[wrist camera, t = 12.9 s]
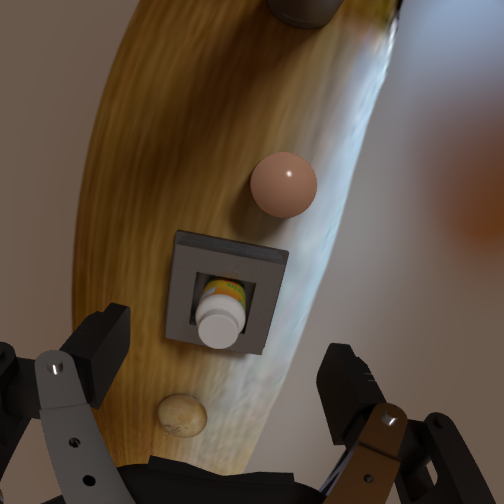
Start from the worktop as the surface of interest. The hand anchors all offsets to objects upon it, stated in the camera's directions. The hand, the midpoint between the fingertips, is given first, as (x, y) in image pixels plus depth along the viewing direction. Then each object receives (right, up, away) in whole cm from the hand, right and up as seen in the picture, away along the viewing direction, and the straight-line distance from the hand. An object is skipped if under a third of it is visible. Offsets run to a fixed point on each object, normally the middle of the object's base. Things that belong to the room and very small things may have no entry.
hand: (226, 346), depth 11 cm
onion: (-10, -22, +33) cm, 41 cm away
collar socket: (-3, -1, +28) cm, 28 cm away
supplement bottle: (-3, -2, +27) cm, 27 cm away
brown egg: (+4, +12, +24) cm, 27 cm away
